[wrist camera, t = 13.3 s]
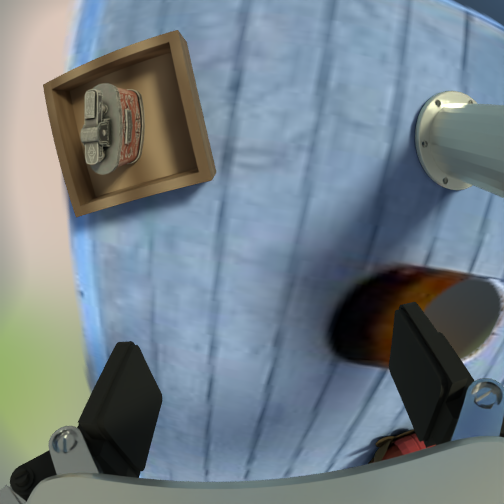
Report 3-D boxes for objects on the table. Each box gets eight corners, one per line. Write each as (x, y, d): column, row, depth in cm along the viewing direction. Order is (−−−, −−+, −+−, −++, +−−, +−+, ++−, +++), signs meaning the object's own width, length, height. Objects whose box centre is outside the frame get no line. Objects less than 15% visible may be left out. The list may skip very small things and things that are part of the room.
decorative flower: (403, 467, 62) (434, 556, 35) (336, 465, 58) (360, 578, 30) (462, 414, 55) (512, 510, 27) (400, 406, 51) (454, 538, 23)
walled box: (186, 42, 28) (177, 29, 23) (216, 172, 34) (212, 180, 29) (65, 87, 29) (43, 84, 24) (94, 204, 34) (76, 217, 30)
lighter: (145, 162, 32) (109, 179, 23) (116, 163, 32) (73, 181, 23) (145, 88, 29) (109, 77, 20) (116, 91, 29) (71, 83, 20)
